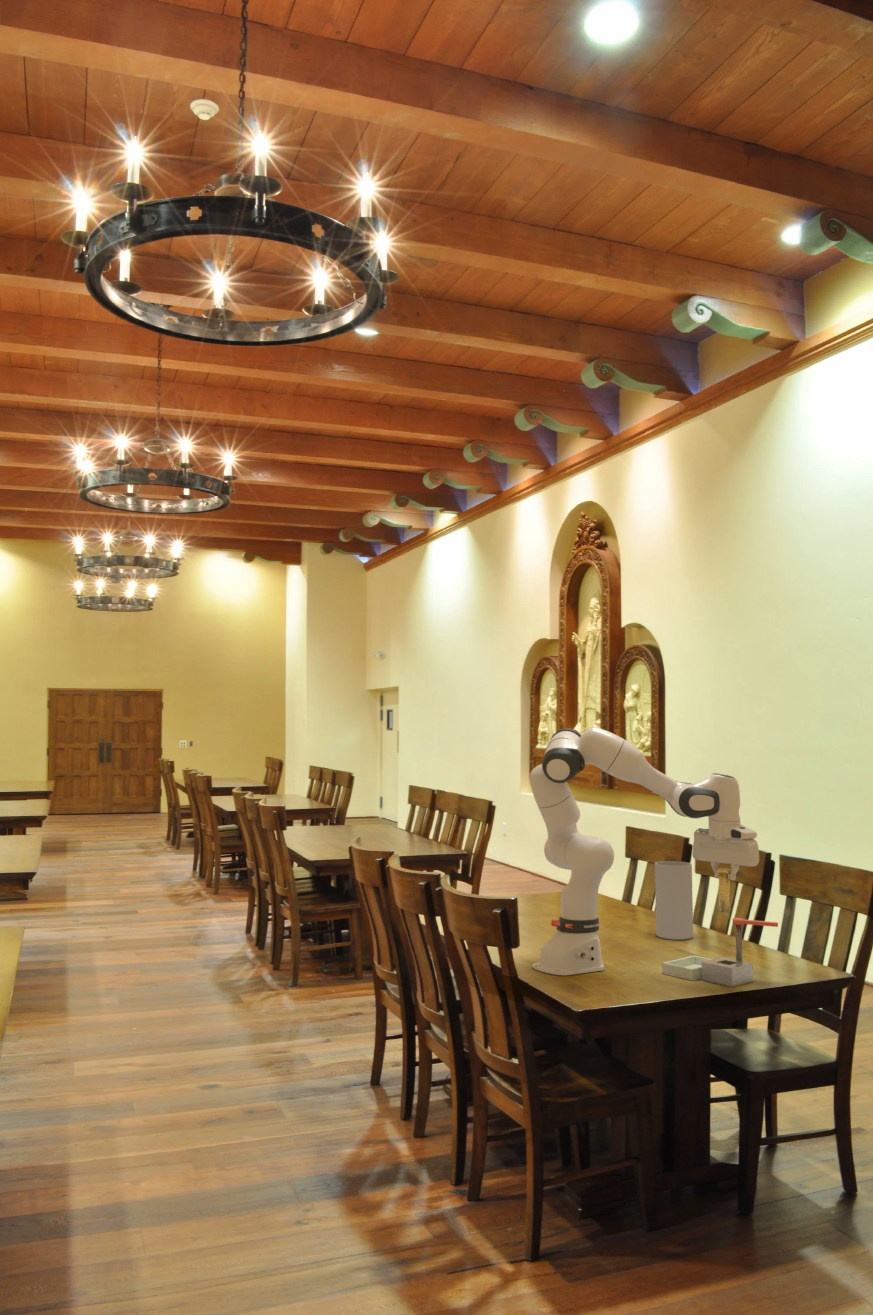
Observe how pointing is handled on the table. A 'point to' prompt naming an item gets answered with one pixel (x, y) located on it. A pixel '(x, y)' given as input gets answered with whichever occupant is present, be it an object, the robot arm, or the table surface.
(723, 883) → the pin
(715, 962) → the socket block
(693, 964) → the tray
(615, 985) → the table surface
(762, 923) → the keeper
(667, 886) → the cylinder vase
